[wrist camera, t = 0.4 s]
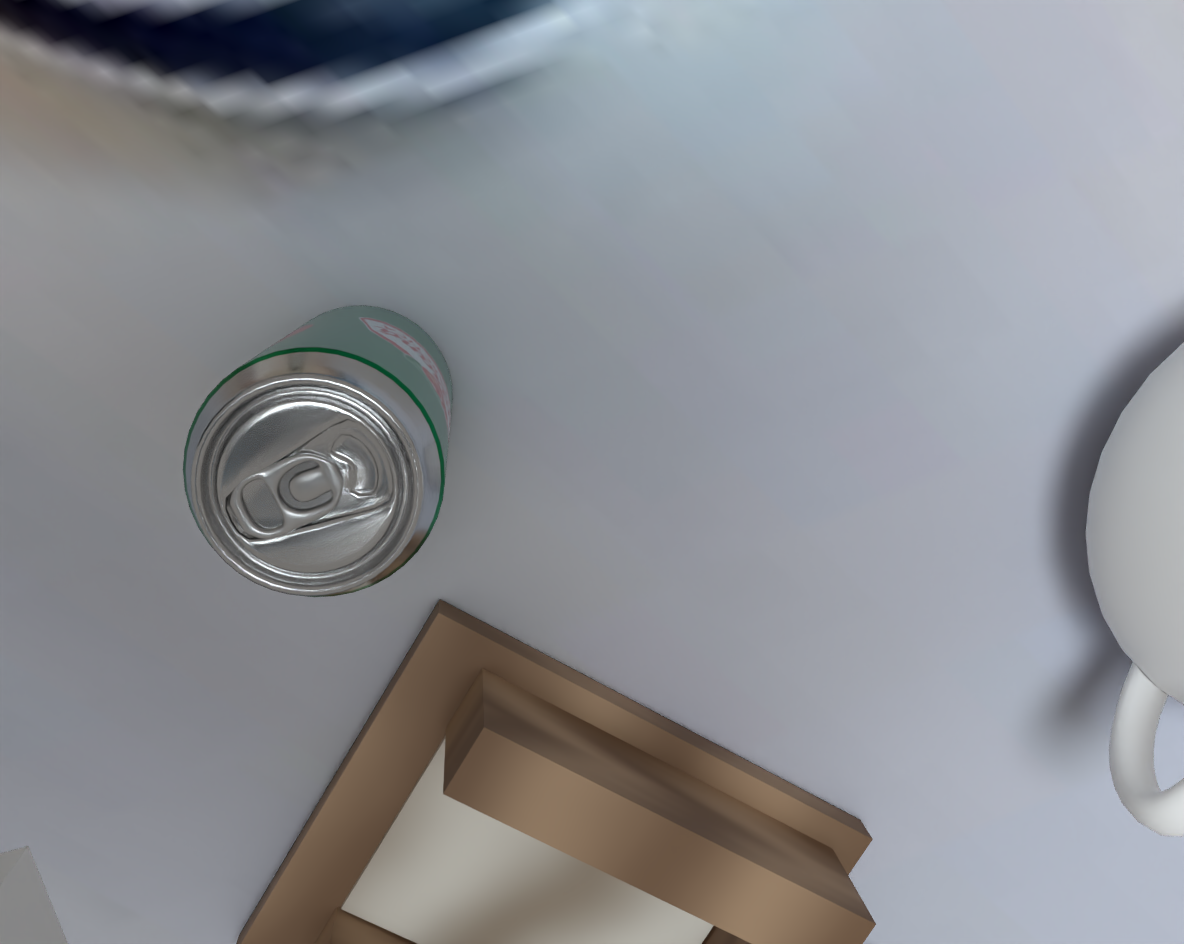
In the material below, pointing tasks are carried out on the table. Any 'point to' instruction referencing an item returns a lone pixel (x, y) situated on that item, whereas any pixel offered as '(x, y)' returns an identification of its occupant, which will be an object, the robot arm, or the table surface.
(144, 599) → the table surface
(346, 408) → the soda can
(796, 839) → the cradle
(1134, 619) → the teapot
